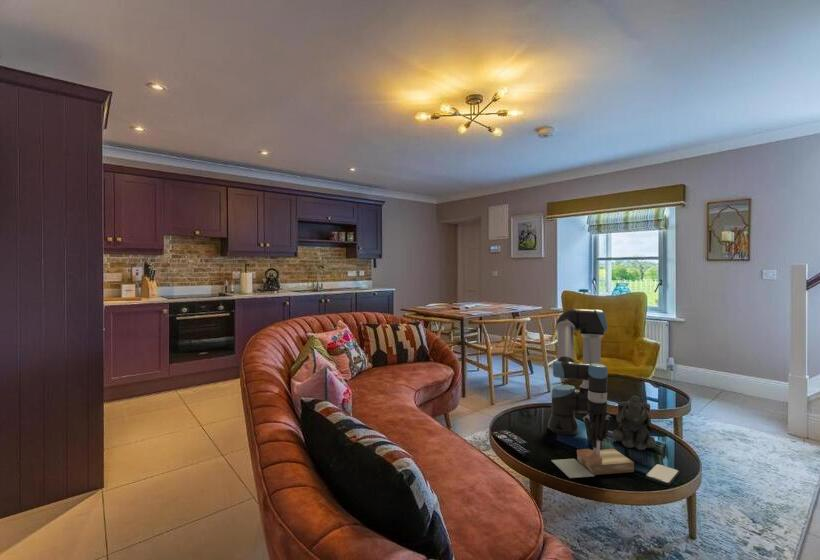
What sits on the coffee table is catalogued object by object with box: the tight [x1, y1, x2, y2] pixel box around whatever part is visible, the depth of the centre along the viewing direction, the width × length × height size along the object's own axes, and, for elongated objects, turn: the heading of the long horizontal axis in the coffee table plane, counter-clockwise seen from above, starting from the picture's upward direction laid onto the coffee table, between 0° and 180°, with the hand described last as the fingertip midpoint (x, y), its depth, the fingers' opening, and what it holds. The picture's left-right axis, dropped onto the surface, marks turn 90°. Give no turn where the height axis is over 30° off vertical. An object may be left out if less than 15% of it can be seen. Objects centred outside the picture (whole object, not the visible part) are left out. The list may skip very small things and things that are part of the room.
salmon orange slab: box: [576, 448, 602, 464], centre depth 172 cm, size 9×6×2 cm, turn 9°
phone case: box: [645, 463, 680, 487], centre depth 165 cm, size 9×2×16 cm
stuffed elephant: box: [611, 395, 656, 451], centre depth 195 cm, size 19×21×27 cm
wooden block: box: [576, 448, 635, 476], centre depth 173 cm, size 13×18×4 cm
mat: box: [551, 458, 595, 479], centre depth 171 cm, size 15×11×1 cm
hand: (596, 454), depth 173 cm, fingers closed
